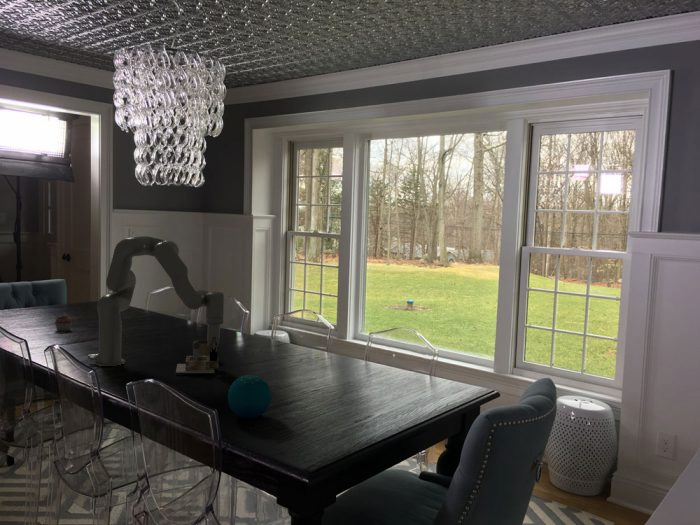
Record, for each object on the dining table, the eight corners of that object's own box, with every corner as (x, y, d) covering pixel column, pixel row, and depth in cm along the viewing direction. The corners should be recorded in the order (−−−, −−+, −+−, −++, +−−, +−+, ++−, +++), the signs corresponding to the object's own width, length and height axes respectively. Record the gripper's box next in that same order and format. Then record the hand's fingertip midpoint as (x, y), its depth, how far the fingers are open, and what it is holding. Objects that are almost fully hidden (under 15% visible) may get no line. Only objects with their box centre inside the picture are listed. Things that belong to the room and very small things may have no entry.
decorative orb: (272, 411, 219) (274, 370, 217) (268, 426, 204) (269, 382, 203) (230, 409, 218) (232, 368, 217) (223, 424, 203) (224, 380, 202)
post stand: (175, 375, 258) (176, 344, 257) (177, 367, 271) (178, 337, 270) (214, 374, 262) (215, 344, 261) (213, 366, 274) (214, 338, 273)
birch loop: (185, 370, 260) (185, 361, 260) (186, 364, 270) (186, 355, 270) (218, 370, 264) (218, 361, 263) (218, 364, 273) (218, 355, 273)
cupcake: (55, 329, 336) (55, 311, 335) (73, 328, 338) (73, 311, 338) (52, 332, 327) (52, 314, 326) (71, 332, 330) (71, 314, 329)
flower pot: (193, 362, 280) (194, 344, 279) (193, 357, 289) (194, 339, 288) (214, 362, 283) (215, 344, 282) (213, 357, 292) (214, 339, 291)
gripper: (205, 316, 274) (204, 353, 275) (205, 323, 257) (204, 363, 258) (222, 316, 275) (221, 353, 277) (223, 323, 258) (222, 363, 260)
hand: (213, 358), depth 267 cm, fingers open, 9 cm apart
